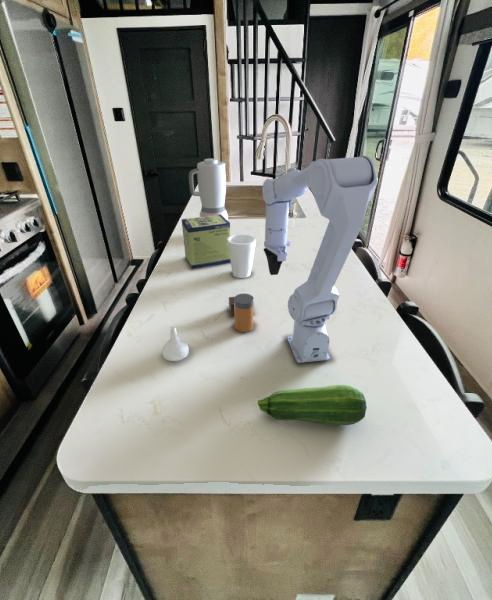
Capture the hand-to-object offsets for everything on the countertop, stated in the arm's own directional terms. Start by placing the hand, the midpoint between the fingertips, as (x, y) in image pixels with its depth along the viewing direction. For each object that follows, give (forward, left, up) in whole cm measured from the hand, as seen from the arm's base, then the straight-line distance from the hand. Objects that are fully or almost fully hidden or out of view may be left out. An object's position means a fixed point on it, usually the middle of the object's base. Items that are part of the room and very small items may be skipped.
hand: (273, 273), depth 90 cm
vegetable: (-40, +2, -11) cm, 41 cm away
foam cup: (+21, +6, -11) cm, 24 cm away
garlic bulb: (-18, +28, -11) cm, 35 cm away
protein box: (+34, +17, -11) cm, 39 cm away
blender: (+57, +14, -11) cm, 60 cm away
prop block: (-2, +10, -10) cm, 15 cm away
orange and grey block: (-7, +11, -10) cm, 16 cm away
